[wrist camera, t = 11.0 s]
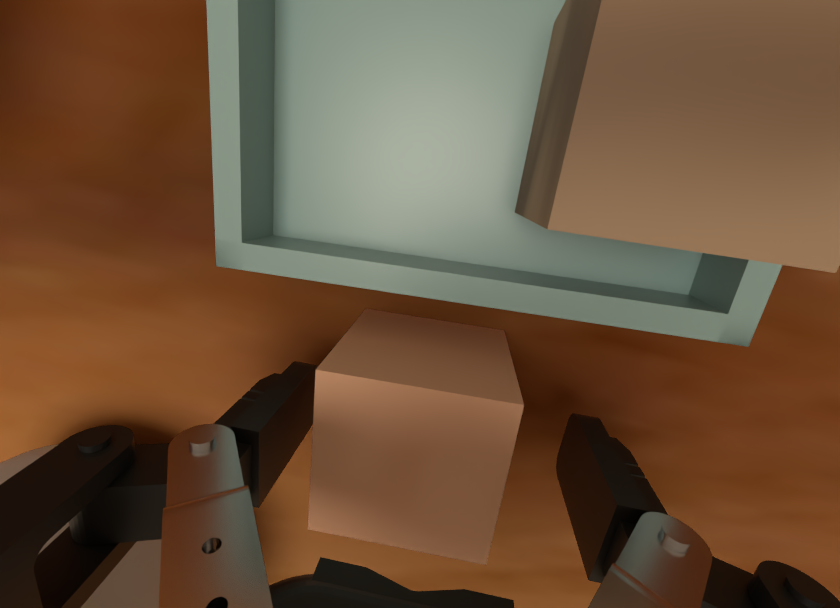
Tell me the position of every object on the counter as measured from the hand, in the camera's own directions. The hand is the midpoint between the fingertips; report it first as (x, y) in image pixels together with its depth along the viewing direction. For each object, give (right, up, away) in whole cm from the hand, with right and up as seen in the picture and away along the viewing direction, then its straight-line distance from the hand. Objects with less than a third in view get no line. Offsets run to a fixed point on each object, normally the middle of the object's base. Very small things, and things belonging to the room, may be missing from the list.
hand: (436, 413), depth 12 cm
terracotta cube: (0, +1, +2) cm, 2 cm away
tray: (+2, +9, 0) cm, 9 cm away
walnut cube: (+5, +8, -1) cm, 10 cm away
